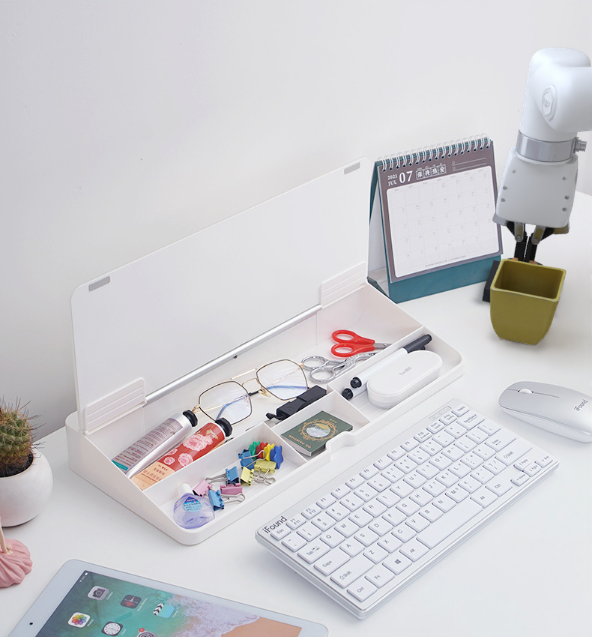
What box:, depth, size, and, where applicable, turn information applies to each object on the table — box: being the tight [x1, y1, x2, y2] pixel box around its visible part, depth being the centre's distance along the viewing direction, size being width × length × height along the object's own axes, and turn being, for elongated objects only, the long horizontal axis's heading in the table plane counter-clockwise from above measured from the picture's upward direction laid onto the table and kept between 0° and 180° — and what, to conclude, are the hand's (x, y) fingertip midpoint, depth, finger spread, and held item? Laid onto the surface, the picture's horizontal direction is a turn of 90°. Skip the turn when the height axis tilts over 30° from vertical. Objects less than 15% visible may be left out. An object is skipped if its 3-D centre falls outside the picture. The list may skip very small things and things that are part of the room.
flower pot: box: [489, 258, 567, 346], centre depth 109 cm, size 9×9×9 cm
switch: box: [481, 257, 543, 303], centre depth 119 cm, size 10×9×4 cm
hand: (523, 262), depth 118 cm, fingers closed
